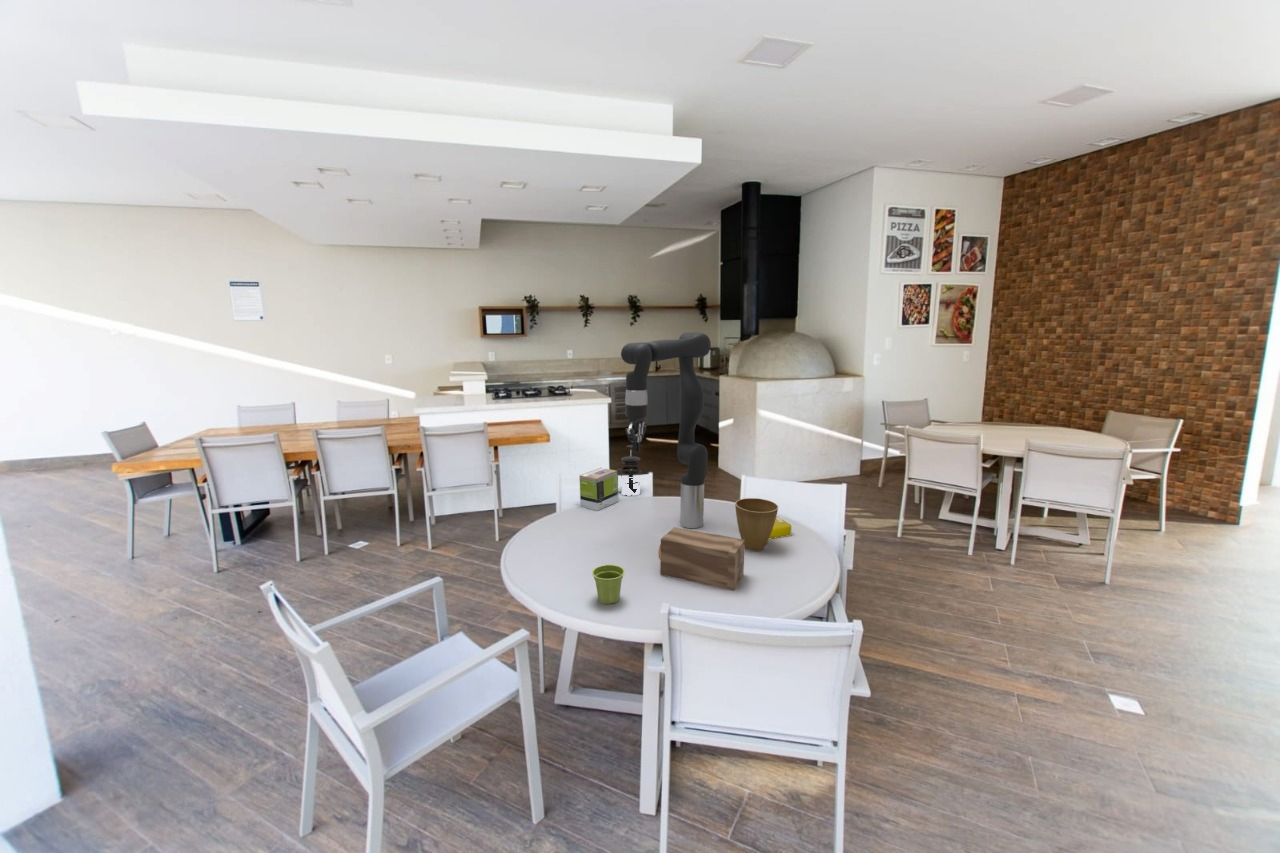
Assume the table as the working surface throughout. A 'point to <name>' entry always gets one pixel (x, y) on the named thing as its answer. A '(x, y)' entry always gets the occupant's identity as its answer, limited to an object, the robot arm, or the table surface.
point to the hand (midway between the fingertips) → (636, 452)
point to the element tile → (780, 528)
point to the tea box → (598, 488)
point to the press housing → (702, 558)
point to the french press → (630, 467)
